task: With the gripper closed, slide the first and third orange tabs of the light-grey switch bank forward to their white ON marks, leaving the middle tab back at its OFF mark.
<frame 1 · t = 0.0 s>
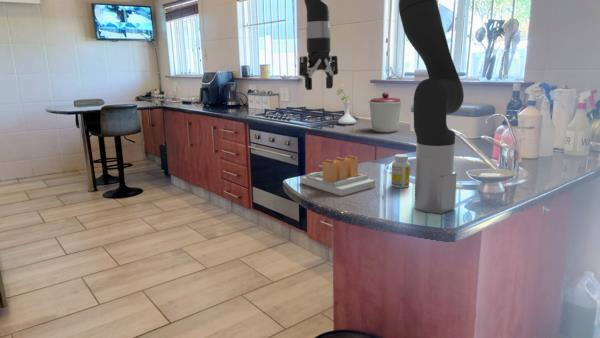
hand: (319, 89, 141), 29 cm above the countertop, tool pointing down, fingers open, 8 cm apart
supplement bottle: (400, 186, 134), on the countertop
tab a: (350, 166, 137), point 6 cm above the countertop, slide at 0.0 cm
canister: (384, 131, 237), on the countertop
tab b: (340, 168, 134), point 6 cm above the countertop, slide at 0.0 cm
switch bank: (337, 184, 136), on the countertop
flower in vase: (346, 124, 268), on the countertop
tab c: (329, 170, 131), point 6 cm above the countertop, slide at 0.0 cm
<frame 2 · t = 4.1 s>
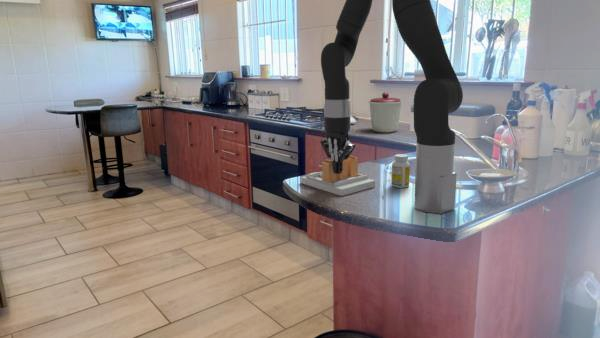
hand: (337, 173, 128), 6 cm above the countertop, tool pointing down, fingers closed
tab c: (329, 170, 131), point 6 cm above the countertop, slide at 0.2 cm, touching gripper
everything else where it was.
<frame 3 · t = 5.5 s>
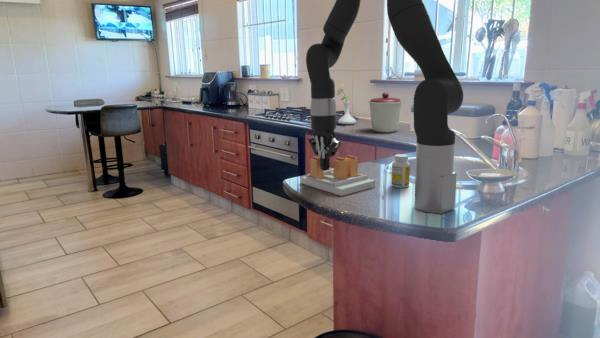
hand: (324, 169, 133), 6 cm above the countertop, tool pointing down, fingers closed
tab c: (316, 167, 136), point 6 cm above the countertop, slide at 6.0 cm, touching gripper, switch bank
everything else where it was.
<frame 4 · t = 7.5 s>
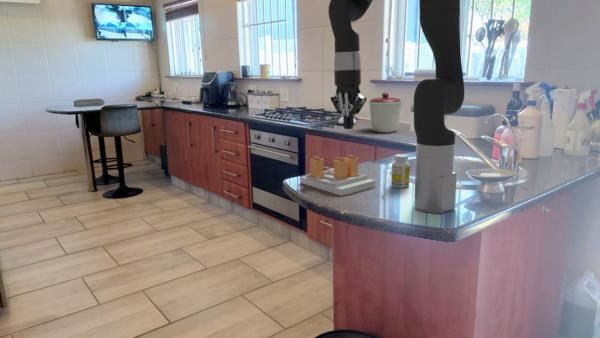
hand: (348, 128, 128), 18 cm above the countertop, tool pointing down, fingers closed
tab c: (316, 167, 136), point 6 cm above the countertop, slide at 6.0 cm, touching switch bank
everything else where it was.
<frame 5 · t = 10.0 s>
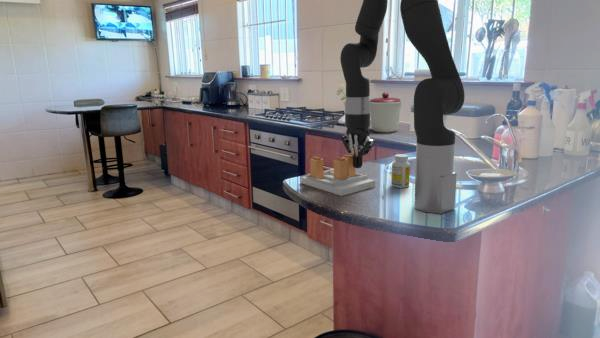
hand: (357, 167, 134), 6 cm above the countertop, tool pointing down, fingers closed
tab a: (348, 165, 137), point 6 cm above the countertop, slide at 1.1 cm, touching gripper
everything else where it was.
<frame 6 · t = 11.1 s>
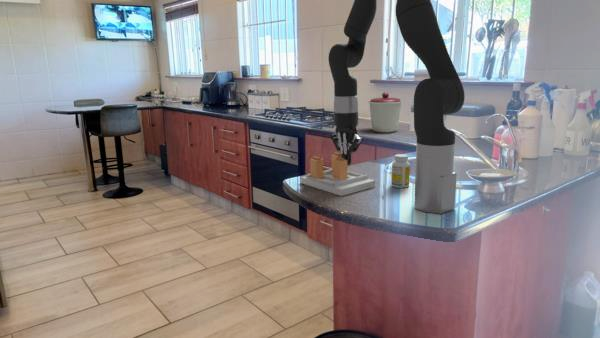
hand: (346, 164, 138), 6 cm above the countertop, tool pointing down, fingers closed
tab a: (338, 163, 141), point 6 cm above the countertop, slide at 6.0 cm, touching gripper, switch bank
everything else where it was.
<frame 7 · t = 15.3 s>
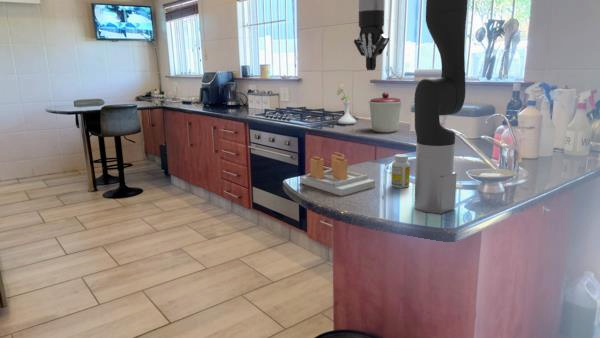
hand: (370, 70, 132), 35 cm above the countertop, tool pointing down, fingers closed
tab a: (338, 163, 141), point 6 cm above the countertop, slide at 6.0 cm, touching switch bank
everything else where it was.
at the end: tab a slide at 6.0 cm; tab c slide at 6.0 cm; tab b slide at 0.0 cm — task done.
